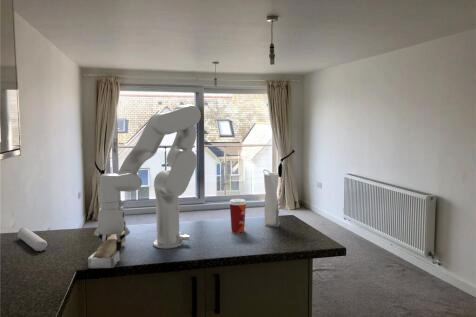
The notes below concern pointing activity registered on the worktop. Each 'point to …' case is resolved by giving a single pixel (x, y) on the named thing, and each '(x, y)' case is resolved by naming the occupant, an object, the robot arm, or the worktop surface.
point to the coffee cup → (237, 214)
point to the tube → (32, 239)
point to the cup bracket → (103, 261)
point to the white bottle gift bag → (271, 199)
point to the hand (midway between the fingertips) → (112, 250)
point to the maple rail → (109, 246)
